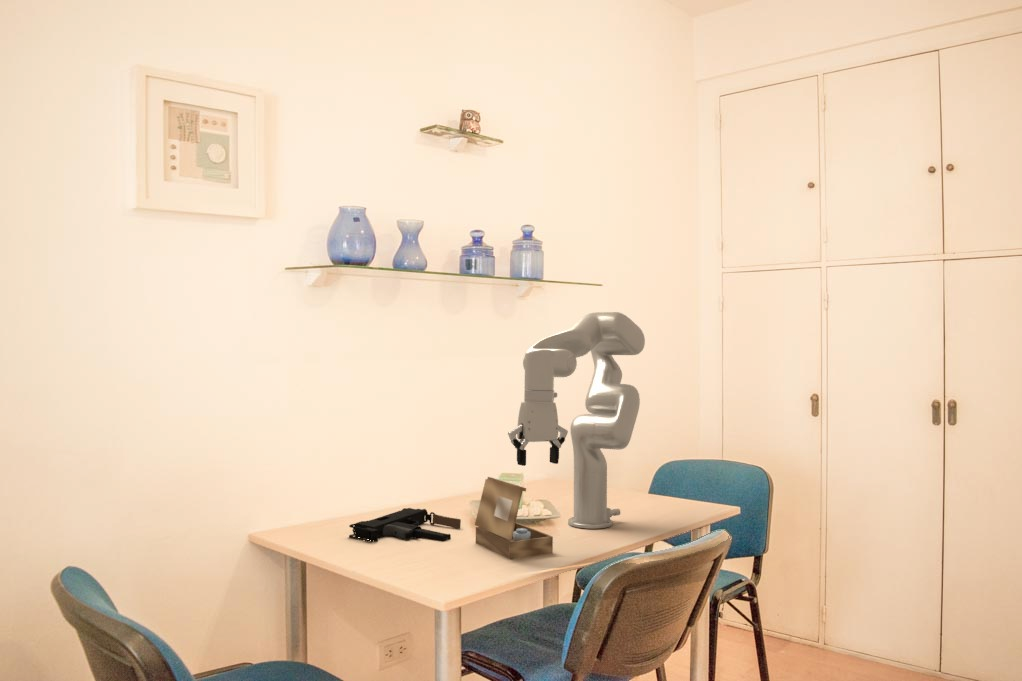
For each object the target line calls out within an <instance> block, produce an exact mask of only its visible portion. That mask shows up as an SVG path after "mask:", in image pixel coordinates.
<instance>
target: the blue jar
mask: <svg viewBox="0 0 1022 681" xmlns="http://www.w3.org/2000/svg"><path fill="white" fill-rule="evenodd" d="M527 539H531V532H530V531H527V529H525V528H518V529H516V531H514V532H513V541H520V540H527Z"/></svg>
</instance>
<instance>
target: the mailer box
mask: <svg viewBox="0 0 1022 681" xmlns="http://www.w3.org/2000/svg"><path fill="white" fill-rule="evenodd" d="M518 528H525V529H527V531H530V532H531V539H527V540H520V541H513V535H512V539H511V540H508V539H505V538H503V537H501V536H499V535H496V534H494V533H492V532H490V531H487V530H485V529H483V528H480V527H478V526H475V543H476V544H477V545H479V546H481V547H483V548H484V549H485V548H486V549H488V550H490V551H492V552H493V553H495V554H498V555H500V556H501V557H503V558H505V559H508V560H515V559H523V558H529V557H530V558H531V557H535V556H536V557H537V556H543V555H550V554H554V552H553V550H554V548H553V544H554V542H553V540H554V539H553V538H554V536H552V535H550V534H548V533H544V532H541V531H539V530H538V529H537V530H536V529H534V528H532V527H530V526H527V525H524V524H522V523H519V522H517V521H516V522H515V526H514V531H516V529H518ZM514 531H513V532H514Z"/></svg>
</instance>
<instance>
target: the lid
mask: <svg viewBox="0 0 1022 681" xmlns="http://www.w3.org/2000/svg"><path fill="white" fill-rule="evenodd" d="M523 492H527V488H526V487H524V486H522V485H521V486H520V485H518V484H513V483H511V482H507V481H504V480H501V479H497V478H495V477H490V476H487V478H485V481H484V486H483V489H482V492H481V497H480V501H479V505H478V510H477V514H476V519H475V522H474V526H475V527H480V528H483V529H485V530H487V531H490V532H492V533H494V534H496V535H499V536H501V537H503V538H505V539H508V540H511V539H512V535H513V531H514V526H515V522H517V517H518V513H519V509H520V504H521V500H522V496H523Z"/></svg>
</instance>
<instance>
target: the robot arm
mask: <svg viewBox="0 0 1022 681" xmlns="http://www.w3.org/2000/svg"><path fill="white" fill-rule="evenodd" d="M645 346H646V338H645V334H644V332H643V330H642V329H641V328H640V326H638V324H636V323H635V322H634V321H633V320H632V319H631V318H630V317H628V316H627V315H626V314H624V313H622V312H617V311H609V312H607V311H605V312H604V311H603V312H602V311H601V312H591V313H588V314H585V315H584V316H583V317H582V318H581V319H579V320H578V321H577V322H576V323H574V324H573V325H572V326H571V327H570V328H569V329H567V330H563V331H560V332H558V333H556V334H553V335H550V336H546V337H545V338H542V339H540V340H538V341H537V342H536V343H534V344H533V345H532V346H530V347H529V348H528V350H526V352H525V353H524V356H523V359H522V360H523V361H522V365H523V366H522V367H523V370H524V400H523V401H522V402H521V403H520V407H519V411H518V417H517V425H516V427H514V428H512V429H511V430H510V431H508V433H507V435H508V437H509V440H510V443H511V444H512V445H513V446H514V448H515V449H516V463H517V465H518V466H523V467H524V466H526V465H527V450H526V449H525V448H526V447H527V445H528V444H529V443H541V442H548V443H549V444H550V447H549V463H552V464H554V465H557V464H559V459H560V448H562V445H563V444H564V442H566V437H567V435H568V434H569V433H568V432H569V431H568V429H566V428H564V427H562V426H561V425H559V418H558V417H559V416H558V409H557V404H556V402H554V400H555V399H556V398H557V397H558V393H557V392H555V378H568V377H570V376H571V375H573V374H574V372H575V371H576V369H577V366H578V364H577V362H578V361H577V359H578V358H580V357H584V356H585V355H588V353H591V354H590V355H591V358H592V361H593V366H594V369H593V370H594V371H593V375H592V378H591V381H590V384H589V387H588V391H587V394H586V398H585V404H584V406H585V409H586V410H587V412H589V413H585V414H580V415H577V416H576V417H574V418H573V420H572V422H571V423H570V429H569V430H570V436H571V442H572V450H573V516H572V517H570V518H569V519H568V520H567V521H568V522H567V523H568V526H571V527H573V528H580V529H587V530H589V529H592V530H595V529H596V530H597V529H607V528H610V527H611V526H612V525H613V520H612V519H611V518H612V517H616V516H620V515H621V509H619V508H614V509H613V508H610V507H608V494H607V493H608V463H607V460H606V457H605V455H604V453H603V451H602V450H601V449H603V450H604V449H605V450H624V449H626V448H627V447H628V445H629V443H630V441H631V438H632V434H633V431H634V428H635V425H636V422H637V418H638V413H639V411H640V410H639V409H640V404H641V401H640V400H641V399H640V398H641V397H640V393H639V391H638V389H637V388H636V387H635V386H634V385H631V384H627V383H621V382H622V379H623V372H622V369H621V367H620V365H619V364H618V363H617V361H616V359H615V358H614V357H613V356H637V355H639V354H641V352H643V350H644V348H645Z"/></svg>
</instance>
